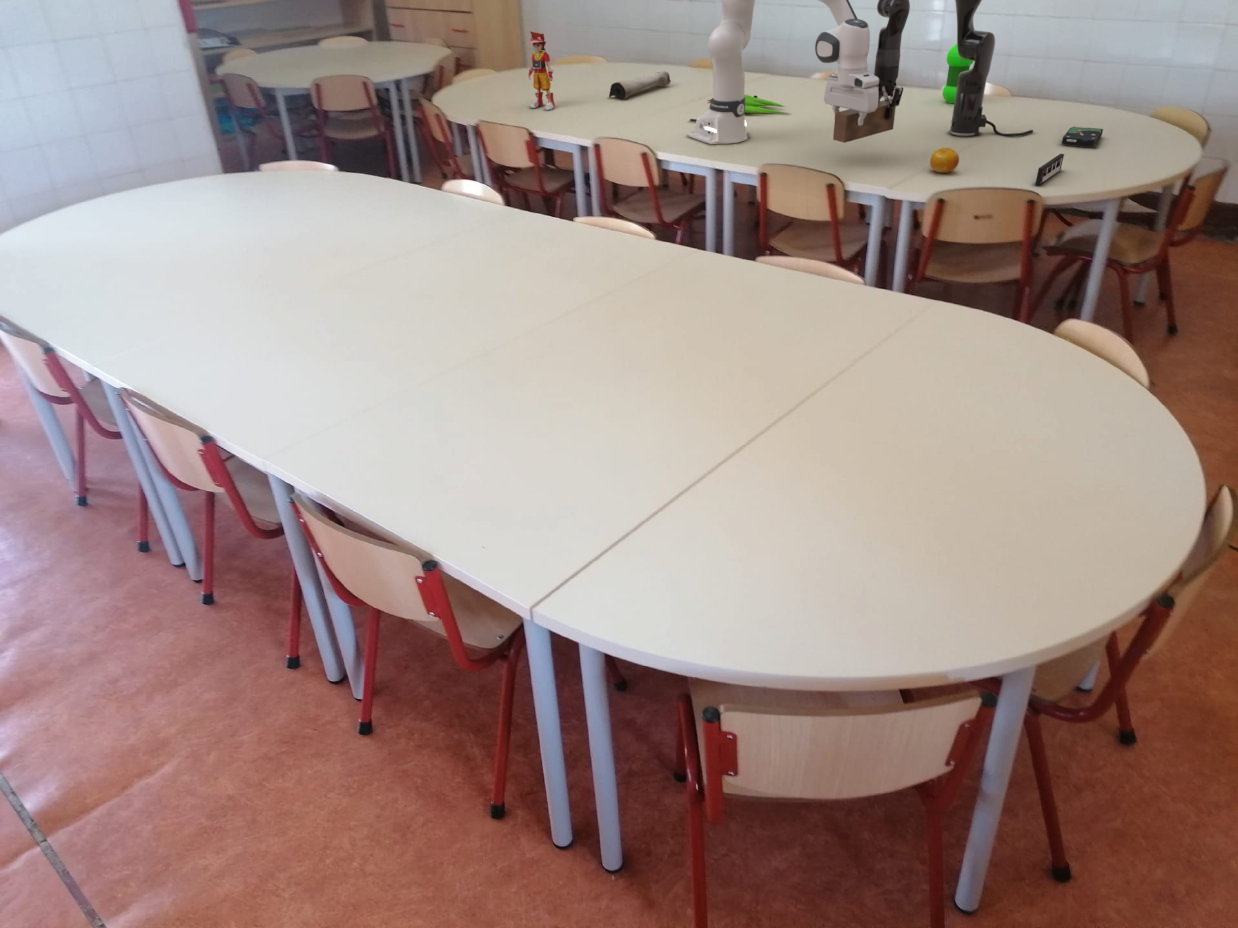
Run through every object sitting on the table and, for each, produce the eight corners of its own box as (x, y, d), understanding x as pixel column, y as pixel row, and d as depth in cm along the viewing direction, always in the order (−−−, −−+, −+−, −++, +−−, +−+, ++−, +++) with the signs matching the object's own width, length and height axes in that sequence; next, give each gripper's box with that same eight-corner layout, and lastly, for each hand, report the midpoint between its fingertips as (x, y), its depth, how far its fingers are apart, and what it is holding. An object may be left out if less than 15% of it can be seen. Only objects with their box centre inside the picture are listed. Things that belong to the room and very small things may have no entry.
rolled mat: (651, 76, 408) (662, 61, 399) (662, 93, 408) (674, 79, 400) (605, 92, 391) (616, 77, 383) (617, 110, 391) (628, 95, 383)
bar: (881, 126, 302) (884, 100, 297) (893, 129, 299) (896, 102, 294) (833, 139, 293) (835, 112, 288) (844, 143, 289) (846, 115, 284)
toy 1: (525, 109, 381) (517, 32, 364) (534, 104, 388) (527, 28, 371) (550, 110, 377) (543, 32, 360) (559, 105, 384) (553, 28, 367)
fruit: (924, 163, 281) (941, 140, 278) (925, 165, 289) (941, 143, 286) (946, 178, 280) (963, 155, 277) (947, 180, 288) (963, 158, 285)
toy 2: (703, 112, 356) (773, 124, 344) (705, 98, 354) (775, 110, 341) (734, 102, 377) (800, 113, 364) (735, 89, 374) (802, 100, 361)
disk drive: (1094, 148, 296) (1101, 136, 306) (1096, 140, 295) (1103, 128, 305) (1060, 145, 301) (1068, 133, 311) (1062, 137, 299) (1070, 125, 309)
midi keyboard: (1039, 185, 269) (1043, 168, 266) (1035, 184, 270) (1038, 168, 267) (1060, 170, 279) (1064, 154, 277) (1056, 169, 280) (1060, 153, 277)
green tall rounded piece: (973, 101, 354) (984, 32, 339) (955, 106, 349) (966, 36, 335) (952, 97, 361) (962, 29, 346) (934, 102, 356) (944, 33, 342)
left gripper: (821, 74, 287) (818, 119, 295) (868, 83, 273) (864, 130, 281) (835, 71, 290) (832, 115, 298) (883, 79, 276) (878, 126, 283)
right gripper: (862, 61, 290) (857, 116, 300) (896, 68, 280) (890, 124, 290) (878, 58, 294) (873, 112, 303) (912, 64, 284) (906, 119, 293)
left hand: (848, 122), depth 289 cm, fingers open, 8 cm apart
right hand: (881, 117), depth 297 cm, fingers closed on bar, 5 cm apart
